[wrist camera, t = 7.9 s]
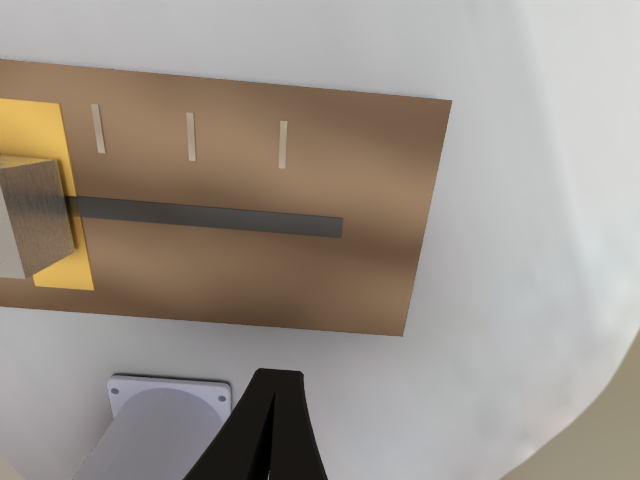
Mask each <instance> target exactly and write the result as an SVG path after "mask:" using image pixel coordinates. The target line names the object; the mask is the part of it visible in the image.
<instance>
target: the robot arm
mask: <svg viewBox="0 0 640 480" xmlns="http://www.w3.org/2000/svg"><path fill="white" fill-rule="evenodd" d="M107 389H108V394H109V400H110V405H111V410H112V415H113V421H112V422H111V424H110V425H109V427H108V428H107V430H106V431H105V433H104V434H103V435H102V437H101V438H100V440H99V441H98V443H97V444H96V446H95V447H94V449H93V450H92V451H91V453H90V454H89V456H88V457H87V459H86V460H85V462H84V463H83V464H82V466H81V467H80V469H79V470H78V472H77V473H76V475H75V476H74V477H73V479H72V480H268V476H269V480H328V478H327V475H326V472H325V469H324V466H323V463H322V460H321V457H320V454H319V451H318V448H317V444H316V441H315V437H314V433H313V429H312V426H311V422H310V418H309V413H308V408H307V403H306V398H305V391H304V374H303V373H302V372H301V371H292V370H278V369H264V368H259V369H258V370H256V371H255V373H254V375H253V377H252V379H251V381H250V383H249V385H248V387H247V388H246V390H245V392H244V394H243V395H242V397H241V399H240V400H239V402H238V403H237V405H236V407H235V408H234V410H233V411H232V413H231V388H230V386H229V385H228V384H226V383H217V382H202V381H188V380H174V379H160V378H146V377H132V376H118V375H115V376H111V377H110V378H109V380H108V381H107ZM222 396H224V397H222ZM269 471H270V473H269Z"/></svg>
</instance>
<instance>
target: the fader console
mask: <svg viewBox="0 0 640 480" xmlns="http://www.w3.org/2000/svg"><path fill="white" fill-rule="evenodd" d="M451 104H452V100H441V99H431V98H420V97H409V96H398V95H387V94H376V93H365V92H354V91H343V90H332V89H321V88H310V87H299V86H288V85H277V84H266V83H255V82H244V81H233V80H222V79H211V78H201V77H190V76H179V75H168V74H157V73H146V72H135V71H124V70H113V69H102V68H91V67H80V66H69V65H58V64H47V63H36V62H25V61H14V60H3V59H0V155H8V156H19V157H31V158H43V159H55V160H57V165H58V169H59V174H60V179H61V184H62V189H63V194H64V199H65V204H66V209H67V214H68V219H69V224H70V229H71V234H72V239H73V244H74V249H75V252H74V253H73V254H71V255H69V256H67V257H65V258H63V259H62V260H60V261H58V262H56V263H54V264H53V265H51V266H49V267H47V268H45V269H43V270H42V271H40V272H38V273H36V274H34V275H32V276H31V277H29V278H27V279H17V278H4V277H0V306H1V307H14V308H27V309H41V310H54V311H67V312H81V313H94V314H108V315H121V316H134V317H148V318H161V319H174V320H188V321H201V322H215V323H228V324H241V325H255V326H268V327H281V328H295V329H308V330H322V331H335V332H348V333H362V334H375V335H388V336H402V337H403V332H404V328H405V323H406V318H407V313H408V309H409V304H410V299H411V294H412V290H413V285H414V280H415V275H416V271H417V266H418V261H419V256H420V252H421V247H422V242H423V237H424V233H425V228H426V223H427V218H428V214H429V209H430V204H431V199H432V195H433V190H434V185H435V180H436V176H437V171H438V166H439V161H440V157H441V152H442V147H443V142H444V138H445V133H446V128H447V123H448V119H449V114H450V109H451Z"/></svg>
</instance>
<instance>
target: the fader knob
mask: <svg viewBox="0 0 640 480" xmlns="http://www.w3.org/2000/svg"><path fill="white" fill-rule="evenodd" d="M74 252H75V249H74V244H73V239H72V234H71V229H70V224H69V219H68V214H67V209H66V204H65V199H64V194H63V189H62V184H61V179H60V174H59V169H58V165H57V160H55V159H43V158H31V157H19V156H8V155H0V277H4V278H17V279H27V278H29V277H31V276H32V275H34V274H36V273H38V272H40V271H42V270H43V269H45V268H47V267H49V266H51V265H53V264H54V263H56V262H58V261H60V260H62V259H63V258H65V257H67V256H69V255H71V254H73V253H74Z"/></svg>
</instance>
